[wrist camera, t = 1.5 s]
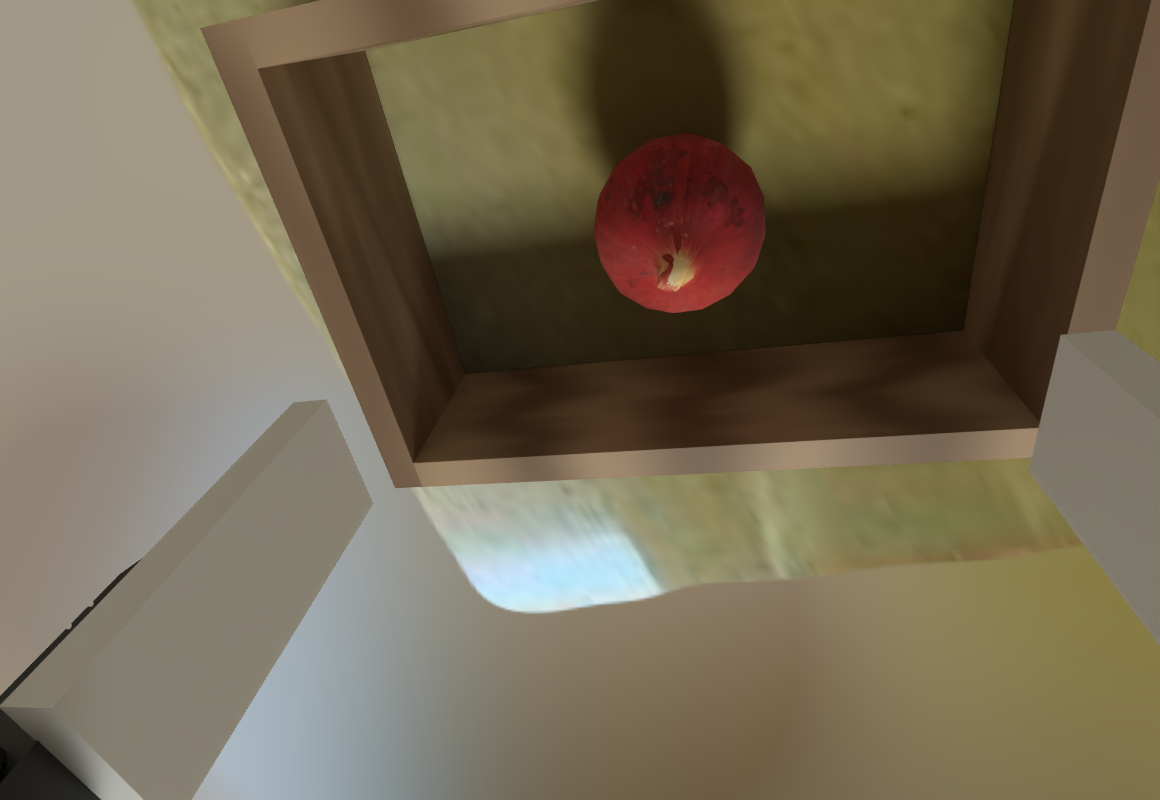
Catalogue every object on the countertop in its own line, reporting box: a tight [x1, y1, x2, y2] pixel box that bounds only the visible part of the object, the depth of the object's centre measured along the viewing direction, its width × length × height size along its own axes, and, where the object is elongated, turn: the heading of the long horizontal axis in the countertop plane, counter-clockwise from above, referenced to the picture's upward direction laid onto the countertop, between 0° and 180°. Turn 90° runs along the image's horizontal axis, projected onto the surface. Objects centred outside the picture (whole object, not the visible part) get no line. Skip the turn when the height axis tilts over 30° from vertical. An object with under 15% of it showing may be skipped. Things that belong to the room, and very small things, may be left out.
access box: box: [200, 0, 1160, 488], centre depth 22 cm, size 24×16×7 cm
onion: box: [593, 132, 766, 313], centre depth 21 cm, size 6×6×8 cm
